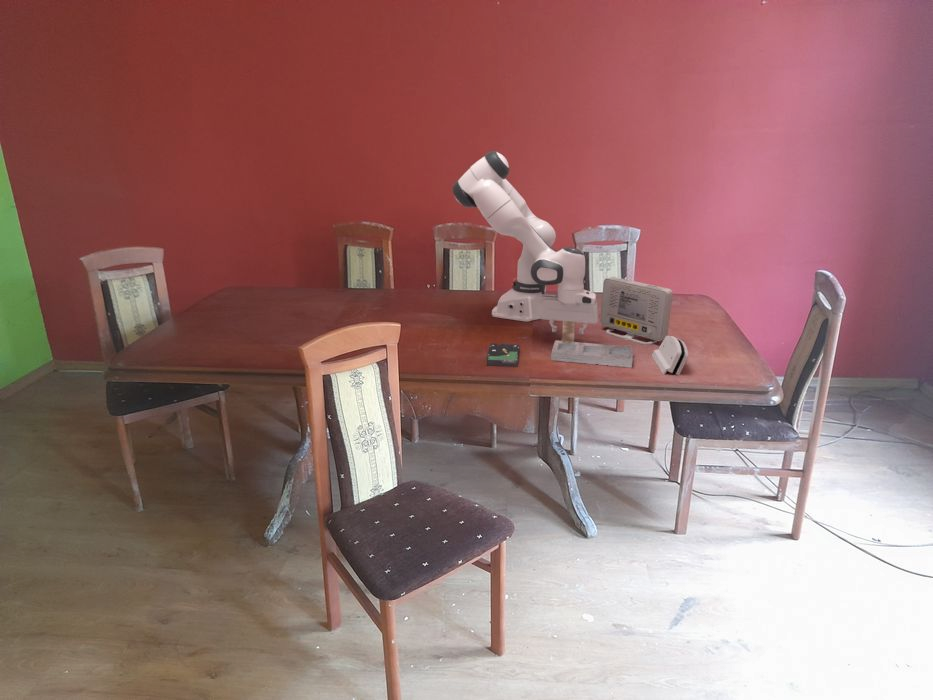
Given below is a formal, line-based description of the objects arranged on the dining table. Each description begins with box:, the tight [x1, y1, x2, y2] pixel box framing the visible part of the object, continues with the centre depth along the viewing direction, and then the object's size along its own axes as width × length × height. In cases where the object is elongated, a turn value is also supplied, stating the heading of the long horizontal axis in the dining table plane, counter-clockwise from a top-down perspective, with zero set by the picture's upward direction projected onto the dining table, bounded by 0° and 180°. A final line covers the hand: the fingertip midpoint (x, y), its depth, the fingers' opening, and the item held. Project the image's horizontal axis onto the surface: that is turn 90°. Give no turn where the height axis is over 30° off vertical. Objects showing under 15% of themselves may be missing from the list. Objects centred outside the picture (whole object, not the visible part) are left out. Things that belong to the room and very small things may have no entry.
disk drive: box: [486, 342, 520, 368], centre depth 201 cm, size 10×3×15 cm
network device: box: [599, 276, 674, 346], centre depth 216 cm, size 26×9×20 cm, turn 44°
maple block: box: [561, 321, 576, 342], centre depth 211 cm, size 4×4×9 cm
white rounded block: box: [651, 335, 689, 376], centre depth 194 cm, size 17×5×10 cm, turn 176°
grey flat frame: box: [550, 339, 634, 369], centre depth 200 cm, size 26×11×3 cm, turn 76°
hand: (567, 332), depth 211 cm, fingers open, 8 cm apart
